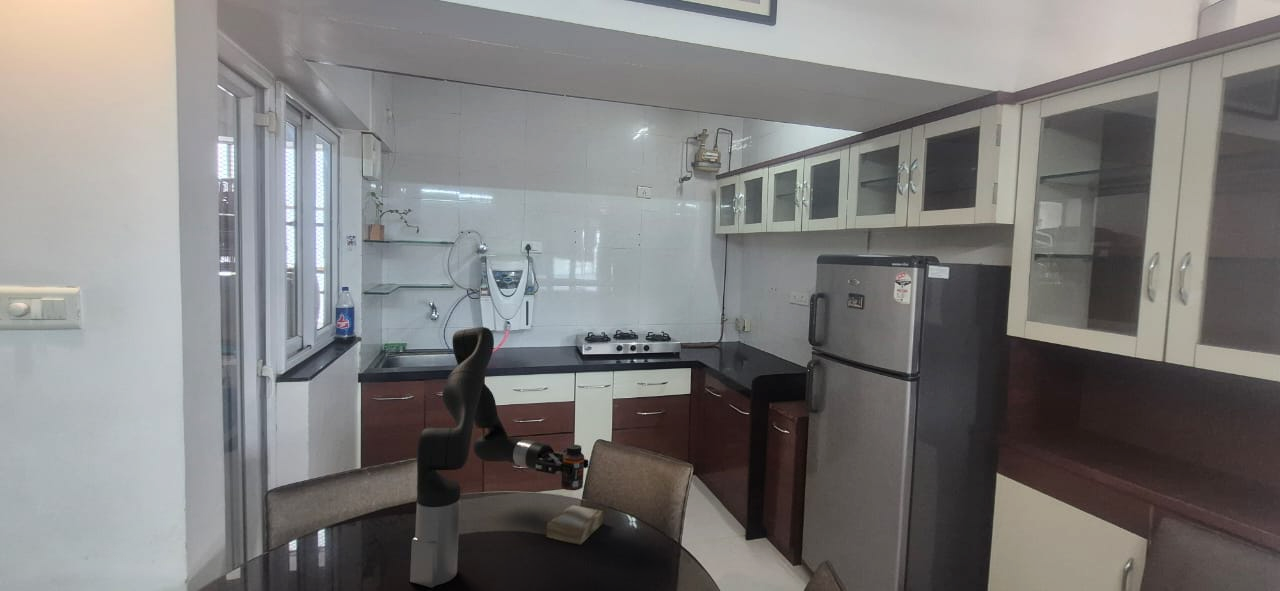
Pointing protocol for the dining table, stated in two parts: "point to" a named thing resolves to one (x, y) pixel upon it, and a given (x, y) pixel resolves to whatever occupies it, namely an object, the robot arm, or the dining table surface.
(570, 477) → the supplement bottle
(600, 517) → the beige flat block
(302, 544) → the dining table surface
